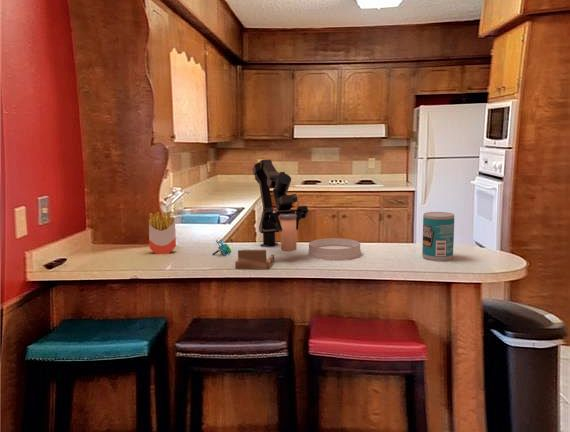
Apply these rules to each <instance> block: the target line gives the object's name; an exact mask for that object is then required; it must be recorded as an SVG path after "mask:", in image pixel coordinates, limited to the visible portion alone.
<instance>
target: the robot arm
mask: <svg viewBox="0 0 570 432" xmlns="http://www.w3.org/2000/svg"><path fill="white" fill-rule="evenodd" d="M252 175H254V180H255V181H256V182H257V183H258V185H259V190H260V199H261V205H262V212H261V218H260V222H259V225H258V232H259V233H260V234H262V241H263V242H262V243H261V244H260V246H261V247H276V246H277V245H278V244H279V242H276V233H280V232H281V231H282V228H281V224H280V214H282V213H295V214H297V218H296V231H298V230H299V223H300V220H301V219H306V217H307V215H308V213H309V207H308V206H307V205H297V207H296V209H292V208H293V204H294V203H297V202H298V195H297V194H296V193H292V194H287V192H288V191H289V188H290V186H291V183H292V177H291V176H290V175H288V173H286V172H285V171H278V170H277V169H276V168H275V166H274V164H273V160H271V159H261V160H260V161H259V162H257V163H255V164H254V165H253V167H252ZM271 189H273V190H272V191H271ZM271 192H272V193H271ZM271 194H272V196H271ZM272 198H273V200H274V204H275V205H274V207H275V208H276V209H274V207H273V200H272Z"/></svg>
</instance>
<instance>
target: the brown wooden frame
mask: <svg viewBox="0 0 570 432" xmlns="http://www.w3.org/2000/svg"><path fill="white" fill-rule="evenodd" d="M273 261H274V262H275V254H271V255H270V256H269V257H268V259H267V249H238V251H237V260H236V261H234V262H235V263H234V264H235V265H234V266H235V267H234V268H235V269H239V270H241V269H244V270H245V269H246V270H247V269H248V270H252V269H253V270H270V269H271V267H272V265H273V264H274V262H273ZM272 263H273V264H272Z"/></svg>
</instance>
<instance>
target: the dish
mask: <svg viewBox="0 0 570 432" xmlns="http://www.w3.org/2000/svg"><path fill="white" fill-rule="evenodd" d="M361 251H362V250H361V242H360V241H358V240H355V239H349V238H341V237H340V238H338V237H337V238H336V237H333V238H332V237H329V238H319V239H315V240H312V241H309V243H308V255H310V256H311V258H312V257H314V258H313V259H315V258H317V259H316V260H320V259H322V261H333V260H334V261H348V260H354V259H357V258H359V257H361V254H362V252H361ZM310 256H309V257H310Z"/></svg>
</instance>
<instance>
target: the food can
mask: <svg viewBox="0 0 570 432" xmlns="http://www.w3.org/2000/svg"><path fill="white" fill-rule="evenodd" d="M422 216H423V218H422V252H421V254H422V255H421V256H422V258H423V259H424V260H427V261H431V262H447V261H451V260H453V258H454V241H455V240H454V239H455V238H454V237H455V214H454V213H451V212H446V211H445V212H444V211H429V212H427V211H426V212H424V213H423V215H422Z"/></svg>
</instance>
